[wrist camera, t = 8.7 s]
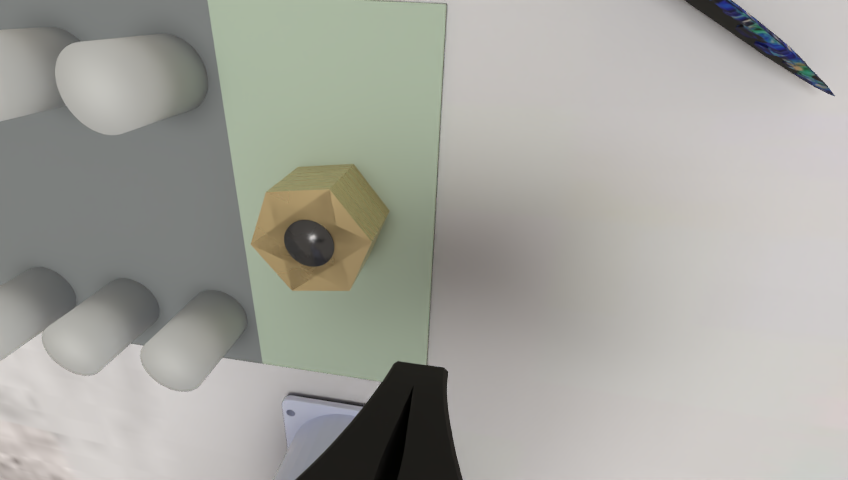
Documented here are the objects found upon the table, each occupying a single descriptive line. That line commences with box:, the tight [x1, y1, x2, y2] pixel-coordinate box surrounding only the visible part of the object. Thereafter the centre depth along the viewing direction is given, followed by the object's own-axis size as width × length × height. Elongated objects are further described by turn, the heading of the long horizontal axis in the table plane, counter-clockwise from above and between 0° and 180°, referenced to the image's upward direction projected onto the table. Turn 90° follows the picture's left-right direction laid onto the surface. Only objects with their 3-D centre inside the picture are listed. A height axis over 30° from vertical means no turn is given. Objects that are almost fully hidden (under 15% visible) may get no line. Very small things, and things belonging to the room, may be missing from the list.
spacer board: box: [0, 0, 447, 392], centre depth 21 cm, size 18×26×4 cm
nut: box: [251, 164, 390, 291], centre depth 20 cm, size 4×5×3 cm
